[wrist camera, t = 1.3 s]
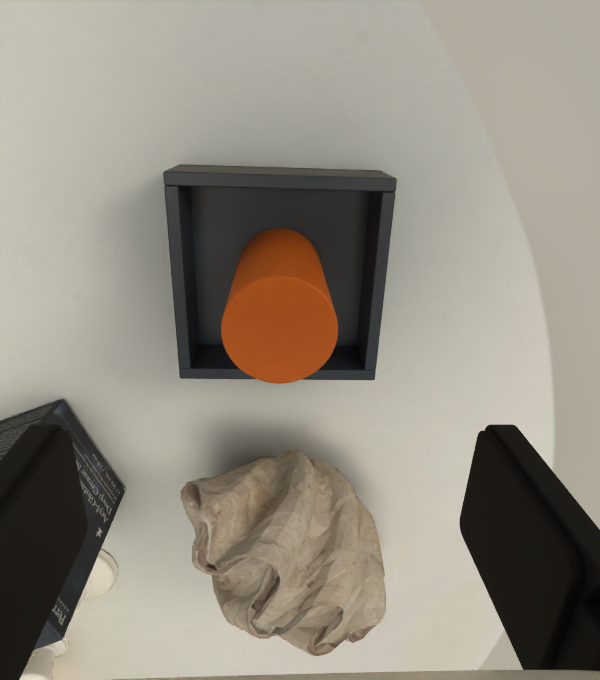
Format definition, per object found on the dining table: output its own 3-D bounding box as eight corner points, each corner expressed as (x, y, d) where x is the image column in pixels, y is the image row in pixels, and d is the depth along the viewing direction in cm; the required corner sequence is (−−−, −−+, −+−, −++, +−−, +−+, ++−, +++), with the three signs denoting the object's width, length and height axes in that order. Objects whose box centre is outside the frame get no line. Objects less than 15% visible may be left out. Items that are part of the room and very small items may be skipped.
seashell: (334, 382, 29) (359, 499, 20) (386, 550, 36) (423, 696, 26) (178, 426, 30) (135, 556, 21) (255, 582, 36) (247, 735, 27)
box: (128, 488, 32) (64, 644, 23) (54, 513, 33) (-39, 675, 23) (65, 394, 29) (-41, 529, 19) (-16, 424, 30) (-158, 568, 20)
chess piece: (124, 588, 36) (72, 745, 27) (59, 594, 36) (-15, 753, 27) (109, 540, 34) (47, 693, 25) (39, 546, 34) (-48, 701, 25)
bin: (178, 164, 24) (162, 170, 21) (381, 170, 24) (397, 178, 21) (191, 348, 28) (179, 378, 25) (363, 351, 29) (374, 380, 25)
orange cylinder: (237, 226, 25) (218, 275, 17) (322, 228, 25) (342, 277, 17) (239, 306, 27) (222, 383, 19) (318, 308, 27) (334, 384, 19)
